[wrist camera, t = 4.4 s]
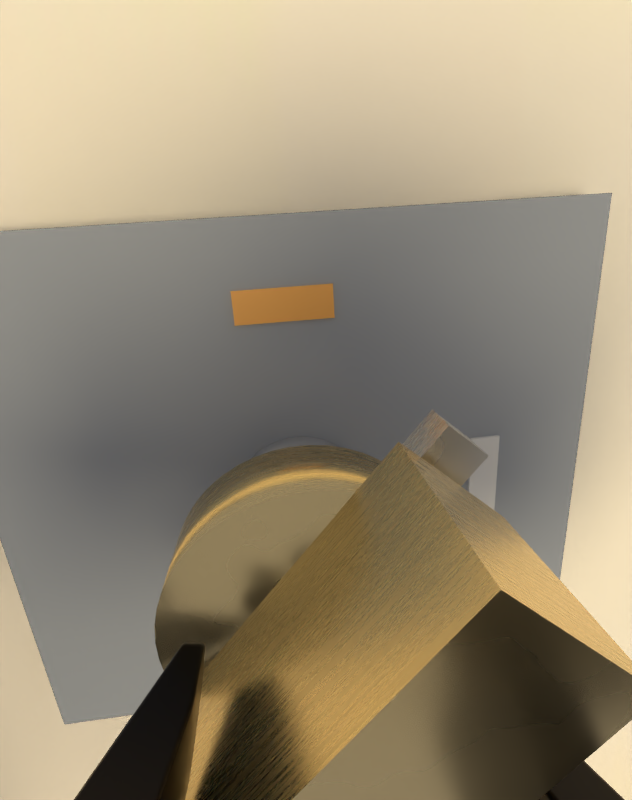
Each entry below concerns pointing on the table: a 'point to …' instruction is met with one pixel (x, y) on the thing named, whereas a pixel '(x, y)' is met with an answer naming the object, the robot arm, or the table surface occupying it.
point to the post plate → (268, 386)
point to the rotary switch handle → (381, 634)
